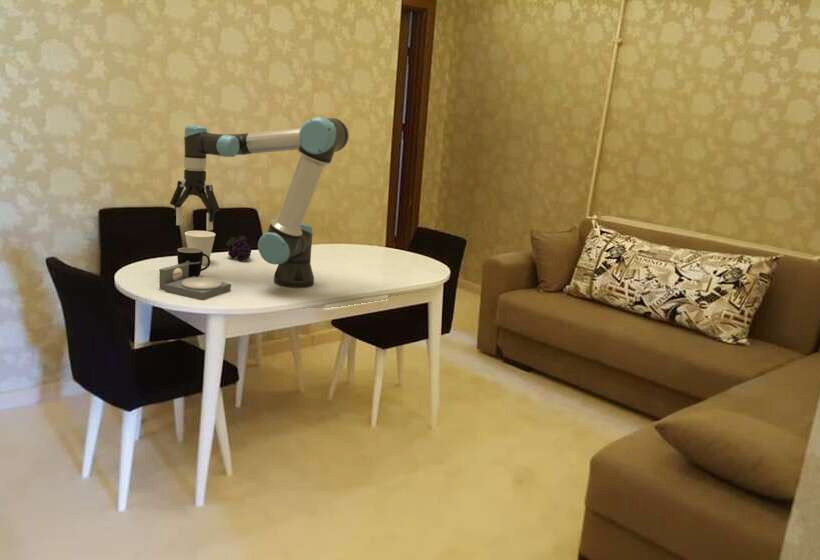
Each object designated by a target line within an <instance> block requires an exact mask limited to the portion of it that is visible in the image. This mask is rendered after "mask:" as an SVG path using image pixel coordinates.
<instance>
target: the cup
mask: <svg viewBox="0 0 820 560" xmlns="http://www.w3.org/2000/svg"><path fill="white" fill-rule="evenodd" d="M216 235H217V234H216V233H215V232H213V231H207V230H188V231H185V232H184V236H185V241H186V247H191V248H199V249H202V250H203V254H206V255H207V256H208V257H209V258H210V259H211V255H212V250H213V246H214V242H215V237H216ZM207 264H208V258H207V257H206V256H203V258H202V267H203V266H207Z"/></svg>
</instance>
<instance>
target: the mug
mask: <svg viewBox="0 0 820 560" xmlns="http://www.w3.org/2000/svg"><path fill="white" fill-rule="evenodd" d="M176 252H177V253H176V254H177V255H176V257H177V265H178V264H182V263H185V264H189V277H193V276H195V277H200V274H201V272H204V271H205V270H208V268H209V267H210V265H211V257H210V258H209V257H208V256H207V255H206V254H203V250H202V249H199V248H191V247H187V246H186V247H180V248H178V249H177V251H176ZM203 256H206V257H207V258H208V264H207V265H205V267H203V266H202V258H203ZM202 267H203V268H202Z"/></svg>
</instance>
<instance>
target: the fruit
mask: <svg viewBox="0 0 820 560" xmlns="http://www.w3.org/2000/svg"><path fill="white" fill-rule="evenodd" d="M225 245H226V247H227V252H228V253H227V254H228V256H229V257H230V258H231V259H236V260H237V261H240V262H244V261H247V260H249V259H250V257H251V255H252V254H251V253H252V250H251V246H250V244H249V243H248V238H247V237H246V236H245V235H239V236H238V237H235V236H234V237H230V239H229V240H228V241H226V244H225Z"/></svg>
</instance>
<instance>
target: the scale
mask: <svg viewBox="0 0 820 560" xmlns="http://www.w3.org/2000/svg"><path fill="white" fill-rule="evenodd" d="M159 290H163V291H164V292H165V293H170V294H173V295H178V296H183V297H188V298H192V299H195V298H196V300H200V299H201V301H204V300H205V301H206V300H208V299H211V298H213V297H216V296H219V295H223V294H226V293H229V292H231V283H227V282H223V281H221V280H220V279H216V278H214V277H213V278H212V277H204V276H203V277H201V276H199V277H195V276H193V277H189V264H185V263H182V264H178V263H177V264H176V265H171V266H167V267H163V268H159Z"/></svg>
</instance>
